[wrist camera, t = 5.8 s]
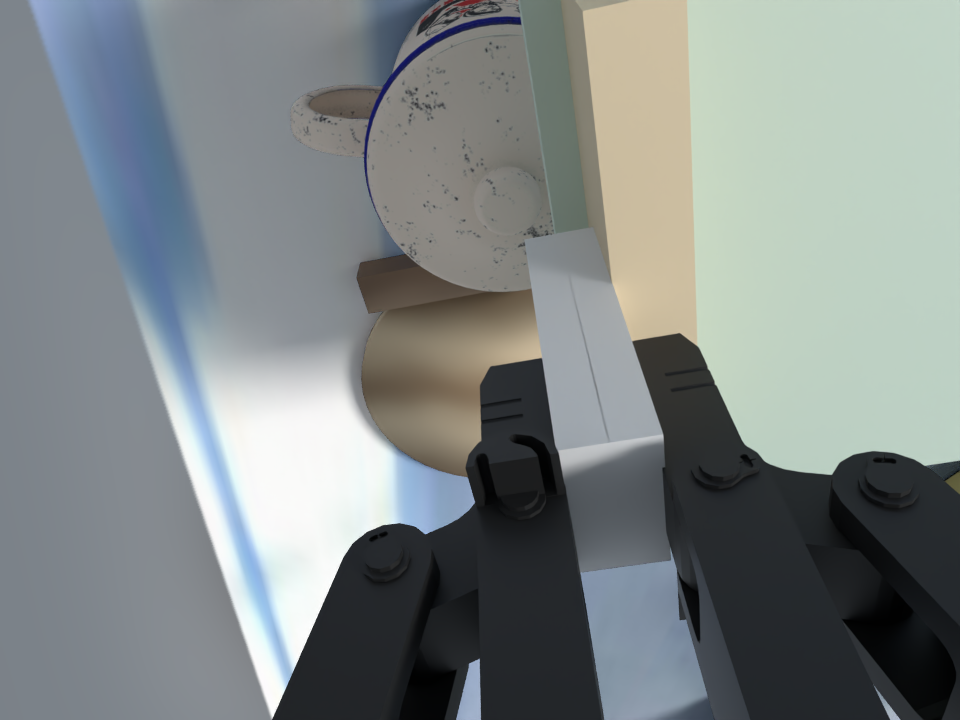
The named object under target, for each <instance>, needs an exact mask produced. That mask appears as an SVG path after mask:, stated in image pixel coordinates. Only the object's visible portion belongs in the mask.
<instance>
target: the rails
mask: <svg viewBox="0 0 960 720" xmlns="http://www.w3.org/2000/svg"><path fill="white" fill-rule="evenodd" d="M357 281H358V284H359V287H360V290H361V293H362V295H363V298H364V301H365V304H366V307H367V310H368V313H369V314H370V313H375V312H380V311H386V310H391V309H397V308H402V307H408V306H413V305H419V304H424V303H429V302H435V301H440V300H446V299H451V298H457V297H462V296H468V295H473V294H478V293H484V292H489V291H482V290H475V289H471V288H466V287H463V286H460V285H456V284H453V283H451V282H448V281H446V280H443V279H441V278H439V277H438V276H436V275H434V274H432V273H430V272H429V271H427V270H425V269H424V268H422V267H421V266H420V265H418V264H417V263H416V262H414V261H413V260H412V259H411V258H410V257H409V256H408V255H407V254H405V255H399V256H394V257H389V258H384V259H378V260H373V261H368V262H363V263H360V266H359V270H358V274H357Z"/></svg>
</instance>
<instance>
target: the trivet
mask: <svg viewBox="0 0 960 720" xmlns="http://www.w3.org/2000/svg"><path fill="white" fill-rule="evenodd" d="M538 358H542V354H541V348H540V341H539V334H538V328H537V321H536V314H535V308H534V301H533V294H532V288H531V289H527V290H520V291H510V292H490V291H489V292H484V293H478V294H473V295H468V296H462V297H457V298H451V299H446V300H440V301H435V302H429V303H424V304H419V305H413V306H408V307H402V308H397V309H391V310H386V311H383V313H382V314H381V315H380V316H379V318H378V320H377V322H376V323H375V325H374V327H373V329H372V331H371V333H370V336H369V338H368V341H367V344H366V349H365V353H364V358H363V363H362V378H361V380H362V388H363V395H364V398H365V401H366V405H367V408H368V410H369V412H370V414H371V416H372V418H373V420H374V421H375V423H376V424H377V426H378V427H379V429H380V430H381V432H382V433H383V434H384V435H385V436H386V437H387V438H388V439H389V441H391V442H392V443H393V444H394V445H395V446H396V447H397V448H399V449H400V450H401V451H402V452H404V453H405V454H407V455H408V456H410V457H411V458H413V459H415V460H417V461H419V462H420V463H422V464H424V465H426V466H429V467H431V468H434V469H437V470H439V471H442V472H446V473H450V474H453V475H458V476H464V477H468V476H467V472H466V469H465V467H466V463H467V459H468V455H469V453H470V452H471V451H472V450H473V449H474V447H475V446H476V445H477V444H478V443H479V442H480V441H481V412H480V408H481V406H480V384H481V382H482V380H483V379H484V377H485V375H486V373H487V371H488V370H489V368H490V366H496V365H502V364H508V363H514V362H520V361H526V360H532V359H538Z"/></svg>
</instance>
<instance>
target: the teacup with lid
mask: <svg viewBox="0 0 960 720" xmlns="http://www.w3.org/2000/svg"><path fill="white" fill-rule="evenodd" d="M358 119H369V120H358ZM291 129H292V132H293V135H294V136H295V138H296V139H297V140H298V141H300V142H301V143H302V144H304V145H306V146H308V147H310V148H313V149H315V150H318V151H321V152H325V153H330V154H336V155H343V156H353V157H364V167H365V176H366V182H367V186H368V190H369V194H370V197H371V200H372V203H373V206H374V208H375V210H376V212H377V215H378V217H379V219H380V220H381V222H382V224H383V225H384V227H385V229H386V230H387V232H388V233H389V234H390V236H391V237H392V239H393V240H394V241H395V243H396V244H397V245H398V246H399V247H400V248H401V249H402V250H403V252H404V253H406V254H407V255H408V256H409V257H410V258H411V259H412V260H413V261H414V262H416V263H417V264H418V265H420V266H421V267H422V268H424V269H425V270H427V271H429V272H430V273H432V274H434V275H436V276H438V277H439V278H441V279H443V280H446V281H448V282H451V283H453V284H456V285H460V286H463V287H466V288H471V289H475V290H482V291H490V292H510V291H520V290H527V289H531V281H530V274H529V268H528V261H527V254H526V248H525V241H524V239H530V238H535V237H541V236H546V235H552V234H554V229H553V223H552V217H551V210H550V204H549V197H548V191H547V184H546V178H545V171H544V165H543V159H542V152H541V146H540V139H539V133H538V126H537V120H536V114H535V107H534V101H533V94H532V88H531V81H530V75H529V69H528V62H527V56H526V49H525V43H524V36H523V30H522V24H521V17H520V11H519V4H518V0H440V1H438V2H437V3H435V4H434V5H433V6H432V7H431V8H429V9H428V10H427V11H426V12H425V13H424V14H423V15H422V16H421V17H420V18H419V19H418V21H417V22H416V23H415V24H414V26H413V27H412V28H411V30H410V32H409V33H408V35H407V36H406V38H405V40H404V42H403V44H402V46H401V48H400V51H399V54H398V56H397V59H396V62H395V66H394V69H393V72H392V74H391V76H390V77H389V79H388V80H387V82H386V83H385V85H384V86H383V87H381V86H366V85H342V86H332V87H327V88H322V89H318V90H315V91H312V92H310V93H307V94H305V95H303V96H302V97H300V98H299V99H298V100H297V101H296V102H295V103H294V104H293V106H292V108H291Z"/></svg>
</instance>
